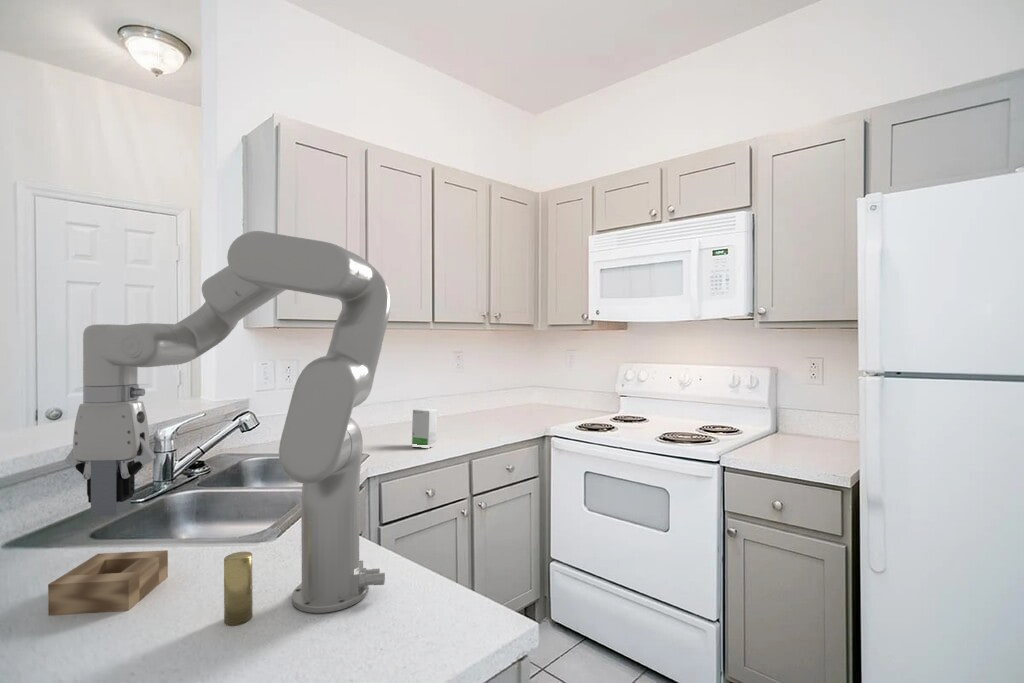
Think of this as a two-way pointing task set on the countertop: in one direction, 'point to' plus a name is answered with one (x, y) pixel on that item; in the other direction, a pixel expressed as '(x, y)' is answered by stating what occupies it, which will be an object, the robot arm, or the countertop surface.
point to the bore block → (108, 582)
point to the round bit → (238, 588)
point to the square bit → (106, 488)
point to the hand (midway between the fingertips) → (111, 498)
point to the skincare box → (424, 426)
